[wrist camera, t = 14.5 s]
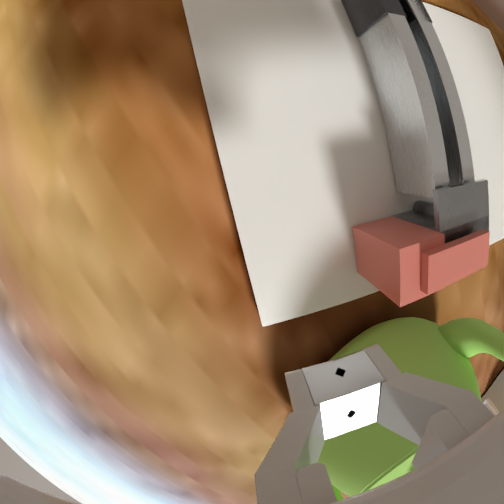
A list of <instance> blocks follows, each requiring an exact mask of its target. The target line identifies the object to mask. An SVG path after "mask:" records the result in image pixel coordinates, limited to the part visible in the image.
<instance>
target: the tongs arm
mask: <svg viewBox="0 0 504 504" xmlns="http://www.w3.org/2000/svg"><path fill="white" fill-rule="evenodd" d="M399 2H400V4H401V6H402V8H403V10H404V12H405V14H406V16H407V17H405V18H406V20H407V22H408V24H409V27H410V29H411V31H412V34H413V36H414V39H415V41H416V44H417V46H418V49H419V52H420V54H421V57H422V60H423V63H424V66H425V69H426V72H427V75H428V78H429V81H430V85H431V88H432V92H433V96H434V99H435V103H436V107H437V111H438V116H439V120H440V125H441V130H442V135H443V141H444V146H445V153H446V160H447V167H448V175H449V185H450V186H452V185H457V184H462V183H467V182H472V181H475V178H474V169H473V161H472V154H471V148H470V142H469V137H468V132H467V127H466V122H465V118H464V114H463V110H462V106H461V102H460V98H459V95H458V91H457V88H456V85H455V81H454V78H453V75H452V72H451V69H450V66H449V64H448V61H447V58H446V56H445V53H444V51H443V48H442V46H441V43H440V41H439V38H438V36H437V34H436V32H435V29H434V27H433V25H432V23H433V22H432V20H431V18H430V16H429V14H428V12H427V10H426V8H425V6H424V5H423V3H422V1H421V0H399Z"/></svg>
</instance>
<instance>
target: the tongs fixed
mask: <svg viewBox="0 0 504 504" xmlns="http://www.w3.org/2000/svg"><path fill="white" fill-rule="evenodd" d="M341 2H342V4H343V6H344V8H345V10H346V13H347V15H348V17H349V20H350V22H351V24H352V27H353V29H354V32H355V34H356V37H359V40H360V42H361V45H362V48H363V50H364V53H365V56H366V59H367V62H368V65H369V68H370V71H371V74H372V77H373V81H374V84H375V87H376V91H377V94H378V98H379V102H380V106H381V110H382V114H383V118H384V122H385V126H386V131H387V136H388V141H389V146H390V151H391V156H392V162H393V168H394V175H395V181H396V189H397V192H402V193H407V194H413V195H418V196H423V197H428V198H433V202H434V203H431V202H426V201H422V200H418V201H416V202H415V203H414V205H413V210H411V211H407V212H403V213H399V214H395V215H391V216H393V217H396V218H400V219H403V220H406V221H409V222H412V223H415V224H418V225H420V226H423V227H426V228H429V229H432V230H435V231H437V232H440V233H443V234H445V244H446V243H448V242H451V241H453V240H456V239H459V238H461V237H464V236H467V235H469V234H472V233H474V232H477V231H479V230H482V229H483V230H486V231H489V193H488V180H485V179H482V180H477V181H472V182H467V183H462V184H457V185H452V186H450V185H449V175H448V167H447V160H446V153H445V146H444V141H443V135H442V130H441V125H440V120H439V116H438V111H437V107H436V103H435V99H434V96H433V92H432V88H431V85H430V81H429V78H428V75H427V72H426V69H425V66H424V63H423V60H422V57H421V54H420V52H419V49H418V46H417V44H416V41H415V39H414V36H413V34H412V31H411V29H410V27H409V24H408V22H407V20H406V18H405V17H407V16H406V14H405V12H404V10H403V8H402V6H401V4H400V2H399V0H341Z"/></svg>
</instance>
